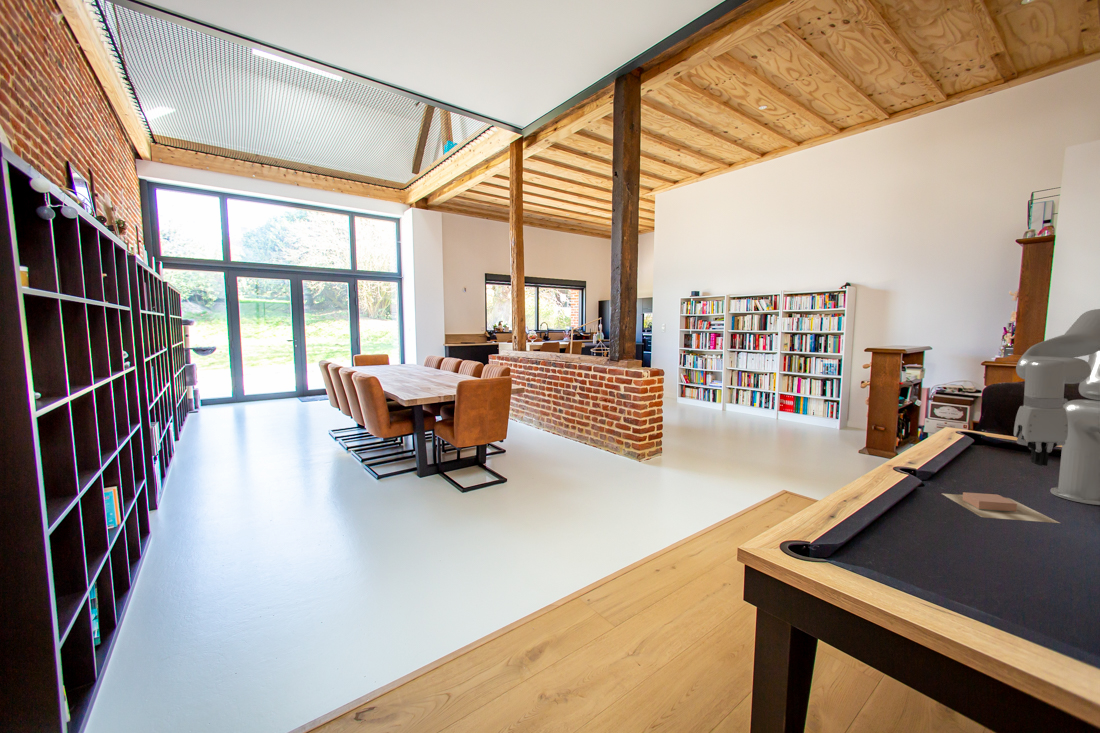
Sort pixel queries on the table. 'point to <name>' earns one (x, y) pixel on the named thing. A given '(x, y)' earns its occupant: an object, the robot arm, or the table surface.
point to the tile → (989, 502)
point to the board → (1020, 514)
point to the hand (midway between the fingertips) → (1039, 464)
